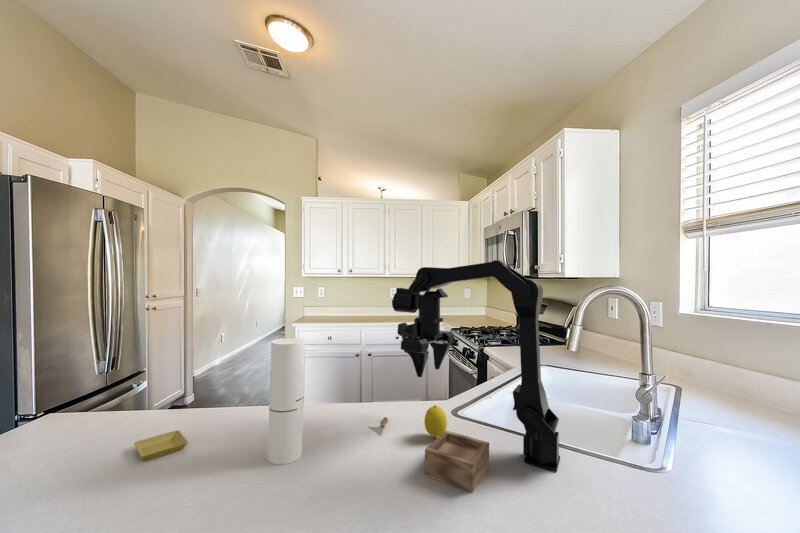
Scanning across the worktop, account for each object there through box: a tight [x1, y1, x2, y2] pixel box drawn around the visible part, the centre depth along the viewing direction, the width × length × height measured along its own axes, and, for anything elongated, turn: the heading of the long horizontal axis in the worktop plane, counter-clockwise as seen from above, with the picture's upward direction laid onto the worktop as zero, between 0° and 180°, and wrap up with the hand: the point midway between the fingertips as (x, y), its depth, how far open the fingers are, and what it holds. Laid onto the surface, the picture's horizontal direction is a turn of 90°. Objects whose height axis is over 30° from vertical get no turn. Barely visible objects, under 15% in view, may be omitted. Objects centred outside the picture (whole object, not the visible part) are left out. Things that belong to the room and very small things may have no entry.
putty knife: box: [367, 416, 389, 437], centre depth 85 cm, size 13×1×5 cm
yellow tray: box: [133, 429, 189, 462], centre depth 73 cm, size 9×9×2 cm
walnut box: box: [424, 430, 490, 493], centre depth 67 cm, size 10×10×5 cm
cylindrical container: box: [267, 338, 306, 465], centre depth 72 cm, size 7×7×25 cm
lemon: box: [424, 404, 448, 439], centre depth 81 cm, size 6×6×8 cm
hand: (428, 372), depth 87 cm, fingers open, 9 cm apart
